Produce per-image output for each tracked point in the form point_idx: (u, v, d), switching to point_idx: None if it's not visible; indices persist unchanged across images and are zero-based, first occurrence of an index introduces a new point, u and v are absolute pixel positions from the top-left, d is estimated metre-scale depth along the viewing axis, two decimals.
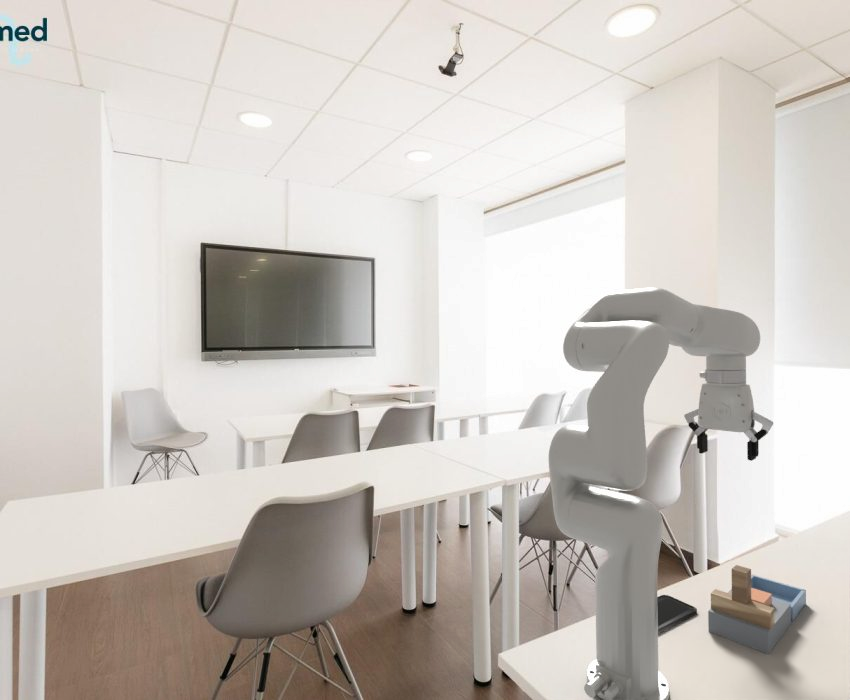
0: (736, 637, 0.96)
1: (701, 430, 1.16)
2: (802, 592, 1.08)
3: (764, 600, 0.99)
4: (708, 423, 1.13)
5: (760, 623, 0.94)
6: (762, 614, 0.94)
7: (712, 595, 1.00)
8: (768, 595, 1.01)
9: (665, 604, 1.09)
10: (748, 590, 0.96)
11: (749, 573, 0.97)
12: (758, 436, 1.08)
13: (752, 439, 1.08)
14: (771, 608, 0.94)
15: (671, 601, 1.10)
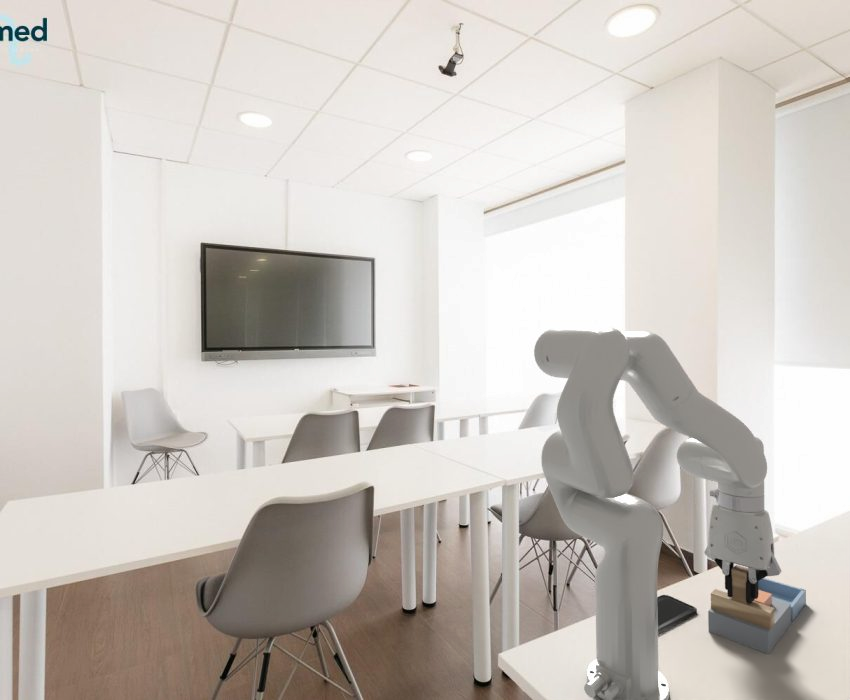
0: (736, 637, 0.96)
1: (727, 567, 0.98)
2: (802, 592, 1.08)
3: (764, 600, 0.99)
4: (720, 553, 0.98)
5: (760, 623, 0.94)
6: (762, 614, 0.94)
7: (712, 595, 1.00)
8: (768, 595, 1.01)
9: (665, 604, 1.09)
10: None
11: None
12: None
13: (751, 580, 0.95)
14: (771, 608, 0.94)
15: (671, 601, 1.10)
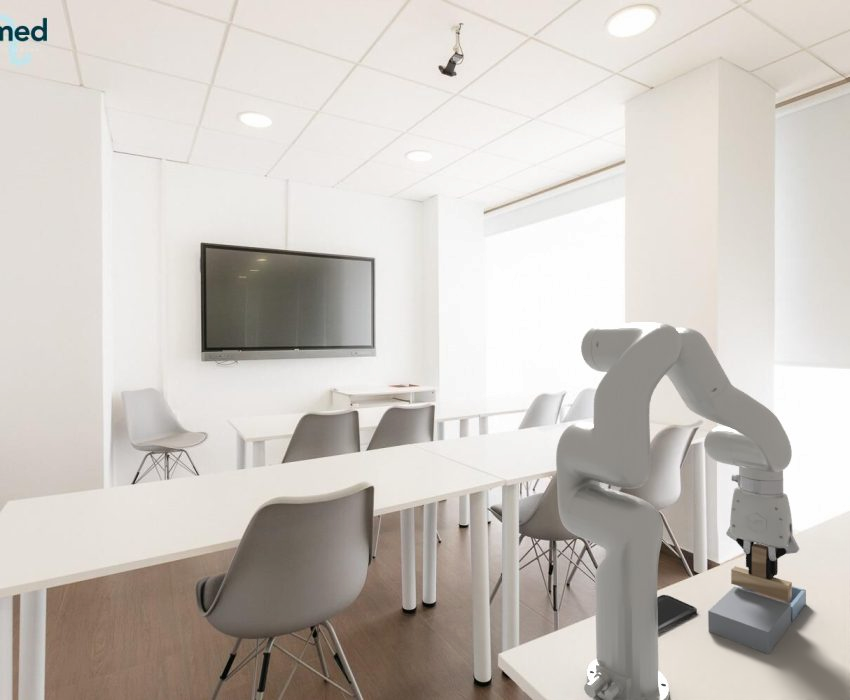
0: (736, 637, 0.96)
1: (748, 546, 1.06)
2: (802, 592, 1.08)
3: None
4: (741, 533, 1.05)
5: (778, 596, 1.01)
6: (780, 587, 1.01)
7: (733, 571, 1.08)
8: None
9: (665, 604, 1.09)
10: None
11: None
12: None
13: (771, 557, 1.03)
14: (789, 582, 1.02)
15: (671, 601, 1.10)
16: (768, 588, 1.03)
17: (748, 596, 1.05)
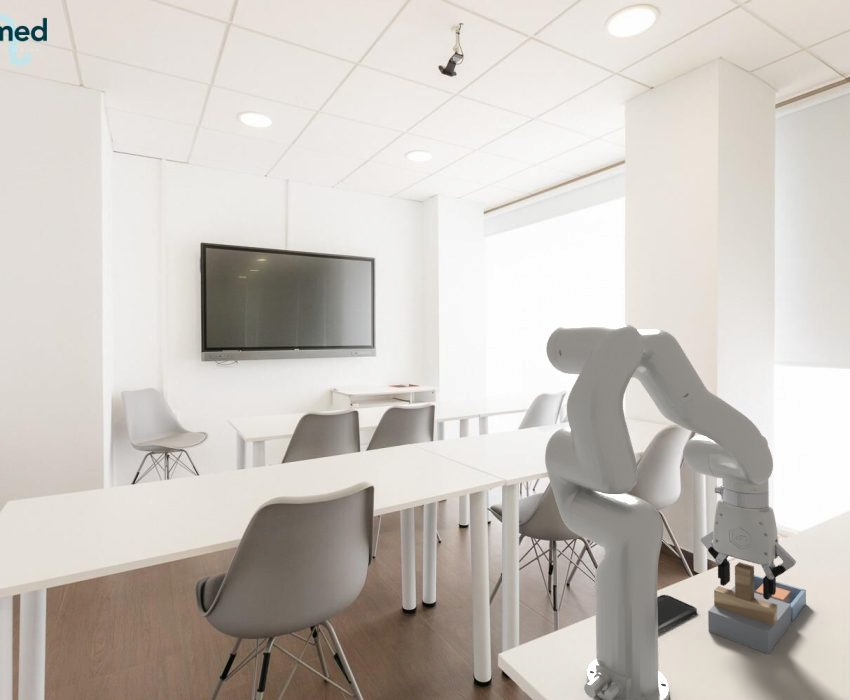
0: (736, 637, 0.96)
1: (722, 558, 1.01)
2: (802, 592, 1.08)
3: None
4: (725, 549, 0.99)
5: (763, 619, 0.95)
6: (765, 610, 0.95)
7: (715, 592, 1.01)
8: None
9: (665, 604, 1.09)
10: (751, 587, 0.98)
11: (752, 570, 0.98)
12: (776, 574, 0.95)
13: (769, 576, 0.95)
14: (774, 604, 0.96)
15: (671, 601, 1.10)
16: (752, 611, 0.97)
17: None
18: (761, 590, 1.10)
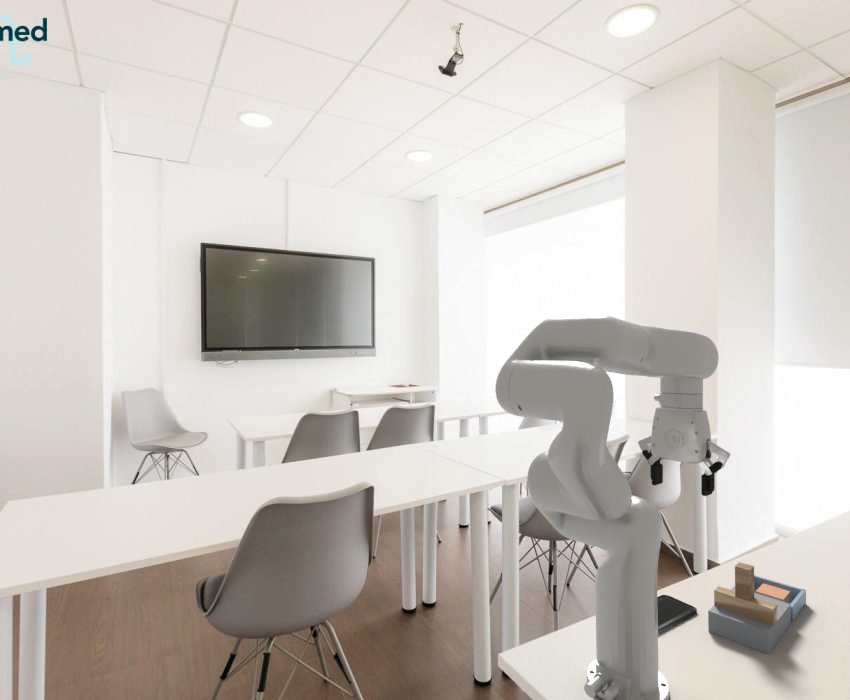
0: (736, 637, 0.96)
1: (654, 459, 1.04)
2: (802, 592, 1.08)
3: None
4: (660, 452, 1.02)
5: (763, 619, 0.95)
6: (765, 610, 0.95)
7: (715, 592, 1.01)
8: None
9: (665, 604, 1.09)
10: (751, 587, 0.98)
11: (752, 570, 0.98)
12: (713, 469, 0.96)
13: (706, 472, 0.96)
14: (774, 604, 0.96)
15: (671, 601, 1.10)
16: (752, 611, 0.97)
17: None
18: (761, 590, 1.10)
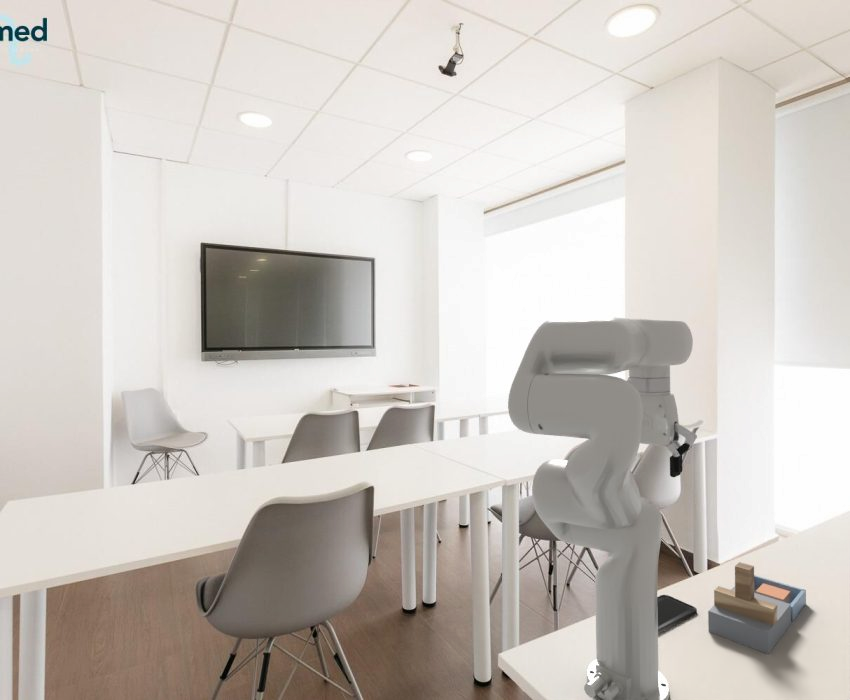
0: (736, 637, 0.96)
1: None
2: (802, 592, 1.08)
3: None
4: None
5: (763, 619, 0.95)
6: (765, 610, 0.95)
7: (715, 592, 1.01)
8: None
9: (665, 604, 1.09)
10: (751, 587, 0.98)
11: (752, 570, 0.98)
12: (681, 450, 0.98)
13: (674, 454, 0.98)
14: (774, 604, 0.96)
15: (671, 601, 1.10)
16: (752, 611, 0.97)
17: None
18: (761, 590, 1.10)
